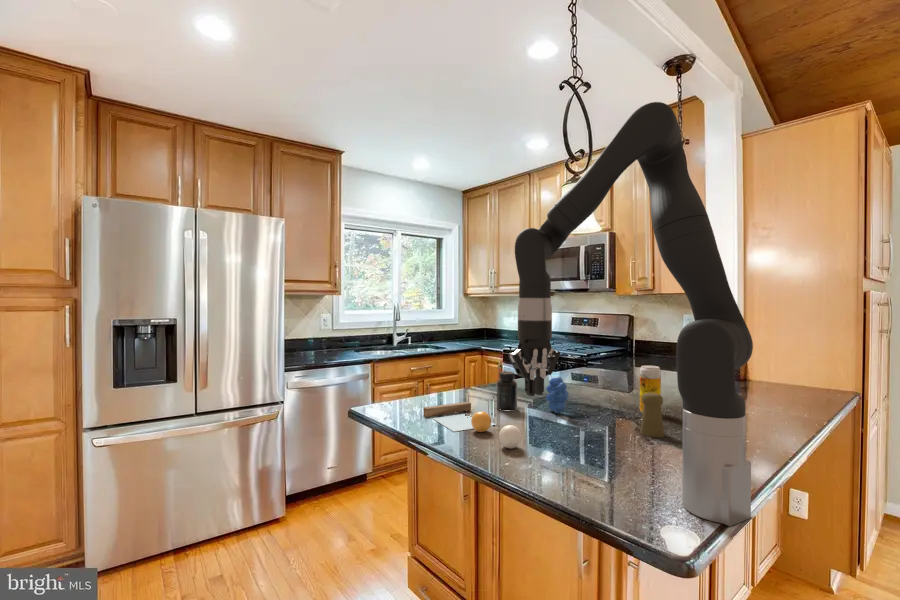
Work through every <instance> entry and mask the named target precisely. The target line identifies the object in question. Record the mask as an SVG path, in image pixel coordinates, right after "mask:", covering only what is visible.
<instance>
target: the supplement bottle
mask: <svg viewBox="0 0 900 600" xmlns="http://www.w3.org/2000/svg"><path fill="white" fill-rule="evenodd" d="M514 379H515V372H512V371H501V372H499V380H497V382H496V409H497V408H498V409H501V410H515V409H516V410H517V409H518V383H517V381H516V380H514ZM498 409H497V410H498ZM501 410H500V411H501ZM516 410H515V411H516Z"/></svg>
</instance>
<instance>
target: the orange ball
mask: <svg viewBox="0 0 900 600" xmlns="http://www.w3.org/2000/svg"><path fill="white" fill-rule="evenodd" d="M491 422H492V418H491V416H490V415H489V413H487V412H486V411H482V410H481V411H477V412H475V413H474V415H473V417H472V419H471V424H472V427H473V428H474V429H473V430H475V431H477V432H478V433H485V432H486V431H489V429H490V428H491V427H492V426H491Z"/></svg>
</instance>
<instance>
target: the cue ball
mask: <svg viewBox="0 0 900 600" xmlns="http://www.w3.org/2000/svg"><path fill="white" fill-rule="evenodd" d="M498 438H499V439H498V440H499V441H500V444H501V445H502V446H503V447H504V448H505V449H506V448H507V449H515V448H517V447H519V445H520V444H521V442H522V438H523V437H522V432H521V430H520V429H519V428H518V427H517V426H515V425H512V424H508V425H505V426H503V427H502V428H501V429H500V431H499V434H498Z"/></svg>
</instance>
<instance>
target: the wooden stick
mask: <svg viewBox="0 0 900 600" xmlns="http://www.w3.org/2000/svg"><path fill="white" fill-rule="evenodd" d="M422 410H423V416H424V417H426V418H427V417H436V416H443V415H442V414H444V415H448V413H451V414H456V413H455V412H458V413H462V412H461V411H466V412H468V411H467V410H471V411H472V403H471V402H469V401H465V402H457V403H449V404H448V403H447V404H440V405H439V404H438V405H432V406H424V407H423V409H422ZM435 415H436V416H435Z"/></svg>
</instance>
